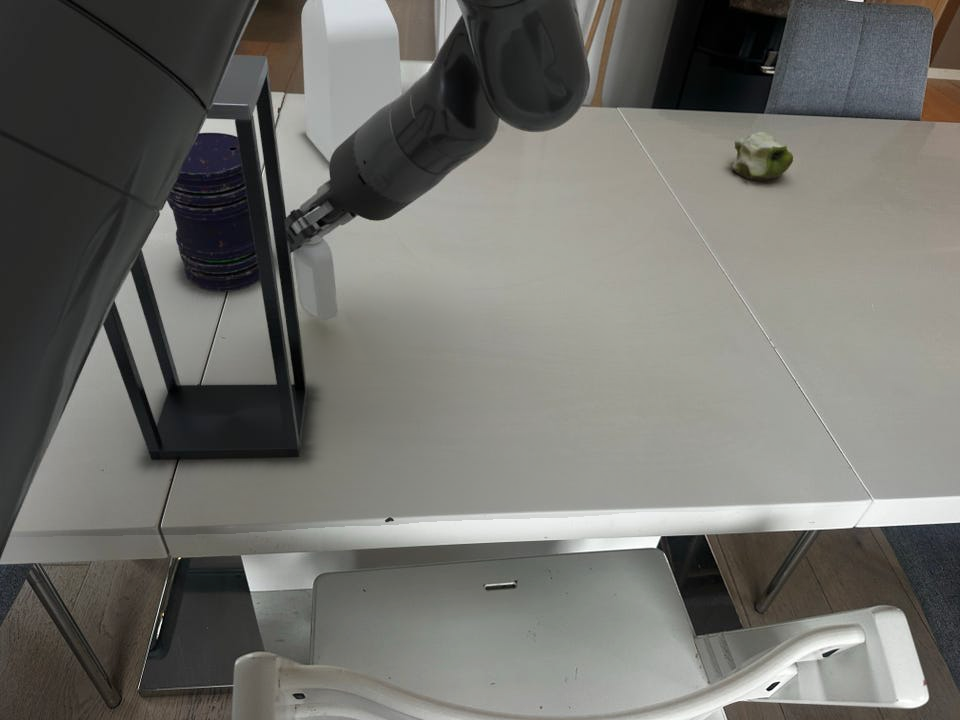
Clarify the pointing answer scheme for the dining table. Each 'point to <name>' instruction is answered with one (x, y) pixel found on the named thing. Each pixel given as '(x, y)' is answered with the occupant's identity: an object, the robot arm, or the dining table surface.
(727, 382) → the dining table surface
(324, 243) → the eye dropper bottle
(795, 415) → the dining table surface
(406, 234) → the dining table surface
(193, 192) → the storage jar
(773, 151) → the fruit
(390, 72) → the milk
